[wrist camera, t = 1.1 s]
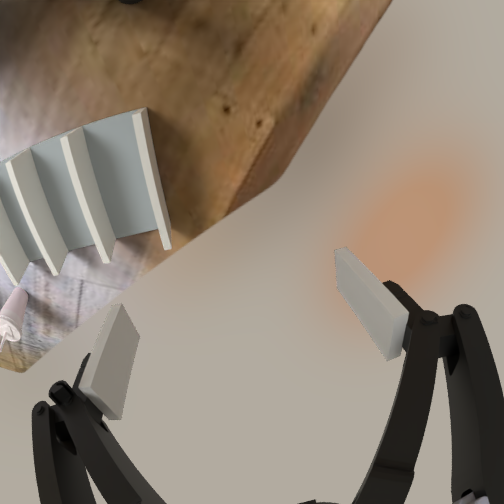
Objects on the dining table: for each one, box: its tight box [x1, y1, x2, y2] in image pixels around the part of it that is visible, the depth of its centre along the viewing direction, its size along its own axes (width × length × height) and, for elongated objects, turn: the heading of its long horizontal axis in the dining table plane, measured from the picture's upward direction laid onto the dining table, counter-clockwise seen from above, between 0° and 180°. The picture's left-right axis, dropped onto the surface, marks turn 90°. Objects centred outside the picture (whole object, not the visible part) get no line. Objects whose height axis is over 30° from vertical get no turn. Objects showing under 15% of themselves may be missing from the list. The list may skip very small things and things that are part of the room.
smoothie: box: [0, 287, 28, 352], centre depth 34 cm, size 6×6×14 cm
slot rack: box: [0, 107, 172, 286], centre depth 31 cm, size 18×28×7 cm, turn 94°
